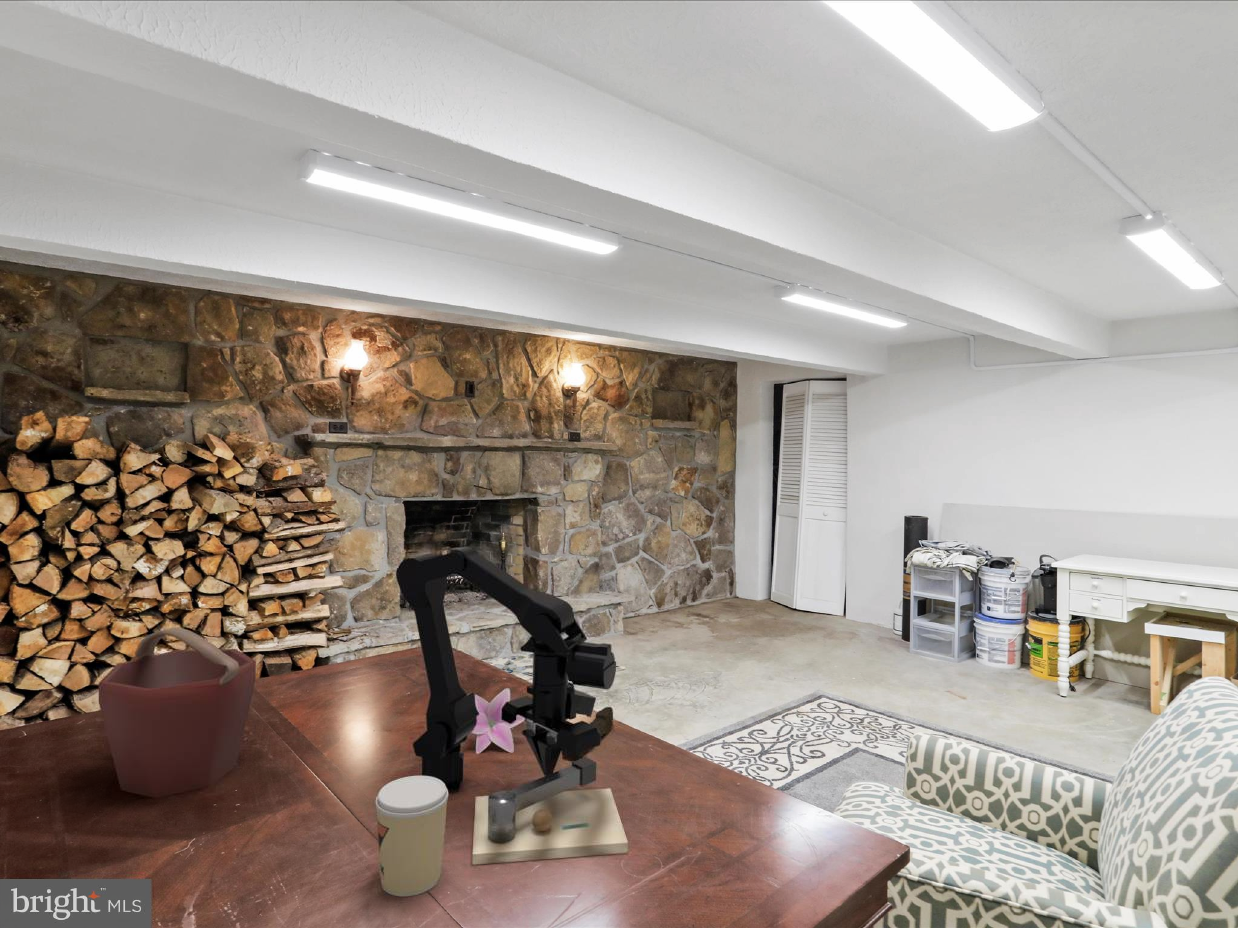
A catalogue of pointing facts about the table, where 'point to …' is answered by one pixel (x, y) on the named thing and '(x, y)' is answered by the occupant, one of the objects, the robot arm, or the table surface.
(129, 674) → the bucket
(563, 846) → the board
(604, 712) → the wooden log
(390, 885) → the lidded canister
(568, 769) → the lever
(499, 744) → the lily
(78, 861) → the table surface
